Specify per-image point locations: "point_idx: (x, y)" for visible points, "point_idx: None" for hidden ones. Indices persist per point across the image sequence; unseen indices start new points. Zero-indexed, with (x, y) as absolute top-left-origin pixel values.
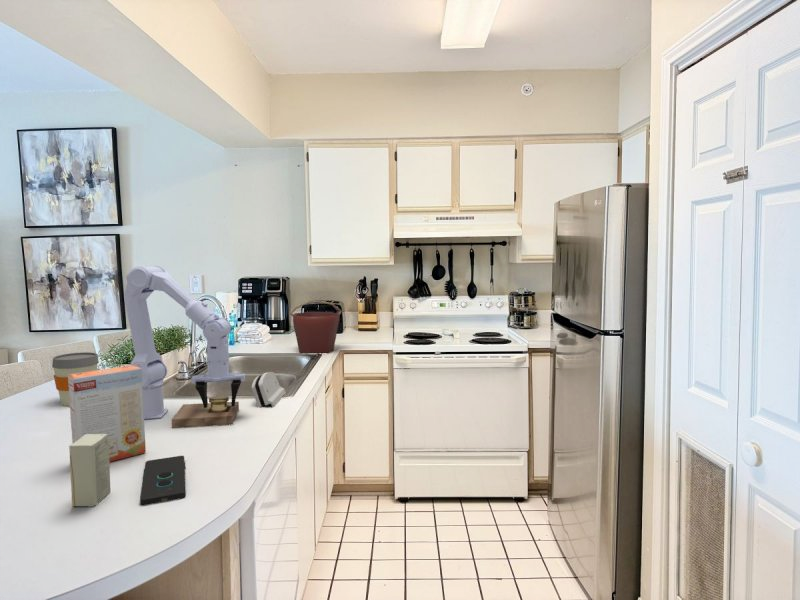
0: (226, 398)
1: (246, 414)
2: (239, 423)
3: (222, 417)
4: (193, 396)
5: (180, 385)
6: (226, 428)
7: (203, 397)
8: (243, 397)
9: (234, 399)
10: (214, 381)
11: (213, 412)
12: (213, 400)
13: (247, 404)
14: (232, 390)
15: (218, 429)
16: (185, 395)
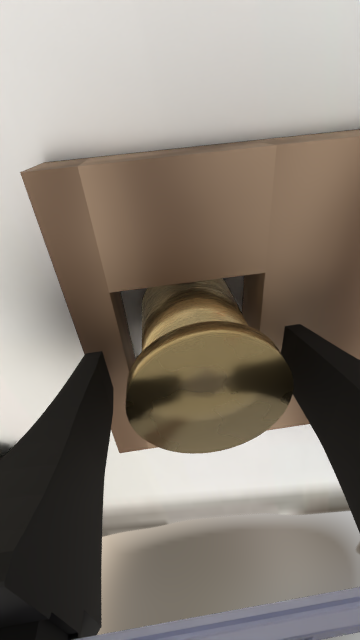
0: (137, 394)
1: (48, 358)
2: (4, 191)
3: (117, 162)
4: (324, 504)
5: (356, 550)
6: (55, 51)
7: (354, 372)
8: (152, 512)
9: (61, 391)
10: (323, 608)
11: (223, 295)
12: (248, 339)
13: (107, 464)
14: (42, 471)
15: (120, 26)
16: (348, 507)
